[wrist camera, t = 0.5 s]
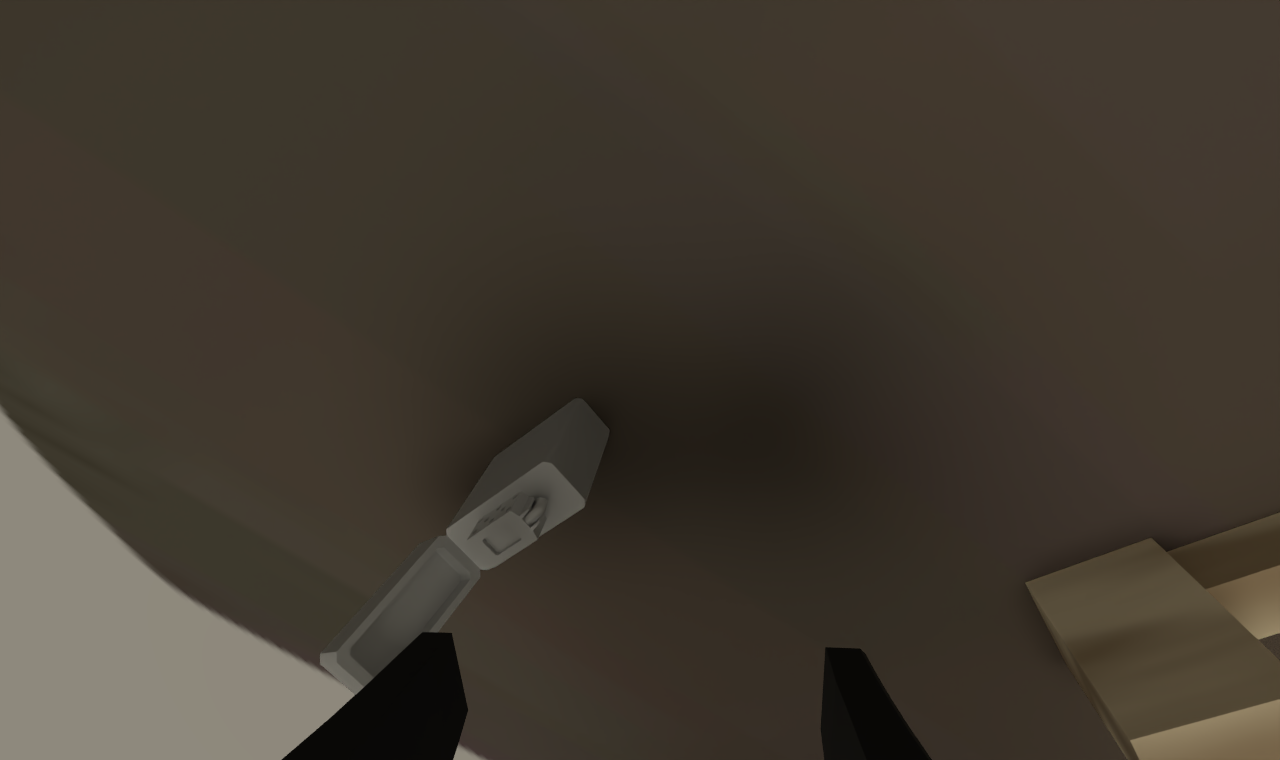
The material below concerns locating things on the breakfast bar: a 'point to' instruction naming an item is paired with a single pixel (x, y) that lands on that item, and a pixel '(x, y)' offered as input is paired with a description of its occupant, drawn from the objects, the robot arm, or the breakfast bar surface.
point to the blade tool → (1176, 643)
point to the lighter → (475, 540)
